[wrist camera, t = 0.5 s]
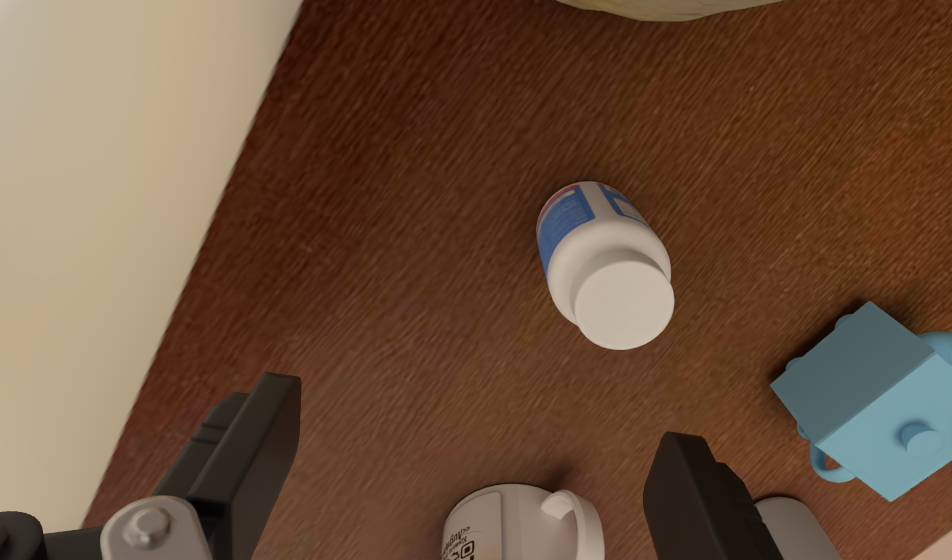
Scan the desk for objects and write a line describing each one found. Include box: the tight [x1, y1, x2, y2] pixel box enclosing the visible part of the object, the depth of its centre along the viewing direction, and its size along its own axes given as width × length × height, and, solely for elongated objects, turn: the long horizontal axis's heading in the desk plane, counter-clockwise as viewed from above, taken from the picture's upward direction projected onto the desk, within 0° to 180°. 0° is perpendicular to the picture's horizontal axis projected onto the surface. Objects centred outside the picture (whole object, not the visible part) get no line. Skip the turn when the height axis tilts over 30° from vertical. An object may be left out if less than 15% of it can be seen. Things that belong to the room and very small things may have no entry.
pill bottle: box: [536, 181, 674, 350], centre depth 28 cm, size 6×5×10 cm
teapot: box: [770, 301, 952, 502], centre depth 32 cm, size 12×6×8 cm, turn 142°
